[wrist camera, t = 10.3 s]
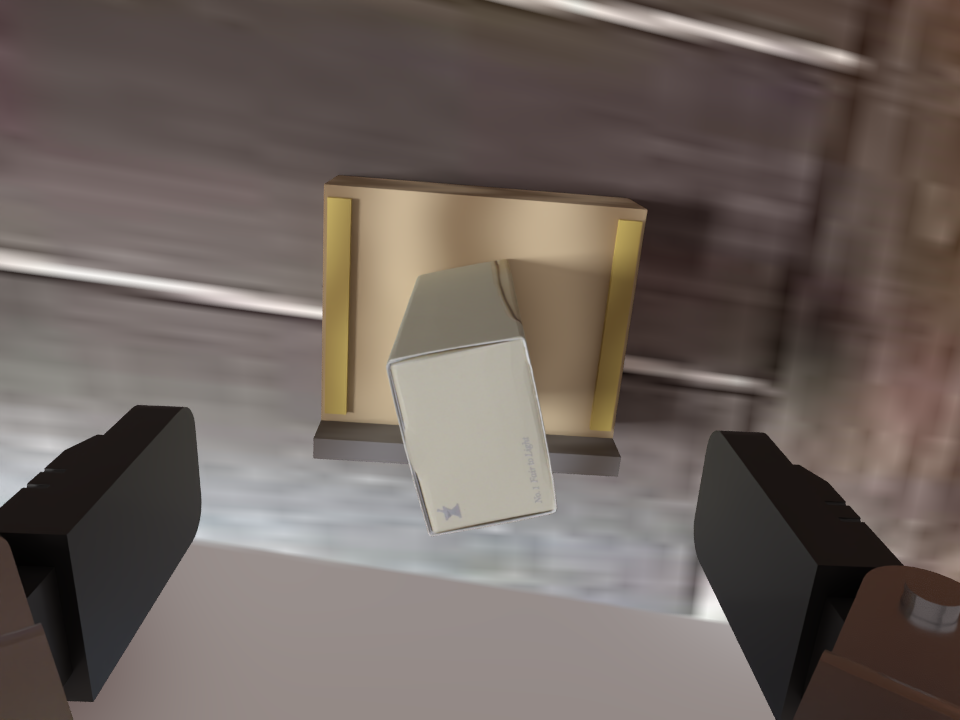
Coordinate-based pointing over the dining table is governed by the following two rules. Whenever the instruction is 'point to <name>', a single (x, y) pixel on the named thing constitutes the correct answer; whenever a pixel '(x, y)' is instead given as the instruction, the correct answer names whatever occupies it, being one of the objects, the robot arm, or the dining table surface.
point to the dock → (539, 289)
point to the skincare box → (470, 402)
